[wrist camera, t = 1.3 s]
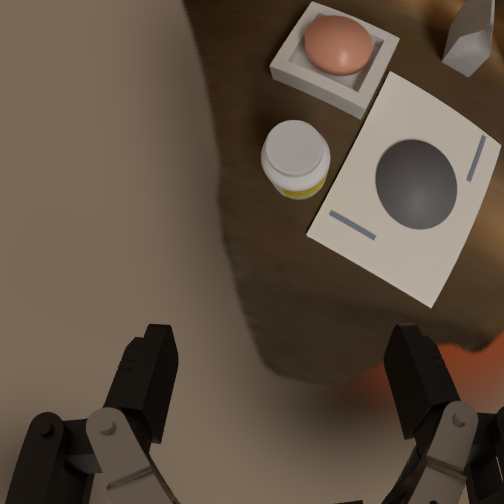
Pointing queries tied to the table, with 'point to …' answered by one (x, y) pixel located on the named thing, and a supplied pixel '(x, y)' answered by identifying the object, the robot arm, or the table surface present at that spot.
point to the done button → (338, 45)
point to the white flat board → (408, 190)
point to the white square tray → (325, 85)
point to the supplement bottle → (295, 159)
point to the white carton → (470, 36)
